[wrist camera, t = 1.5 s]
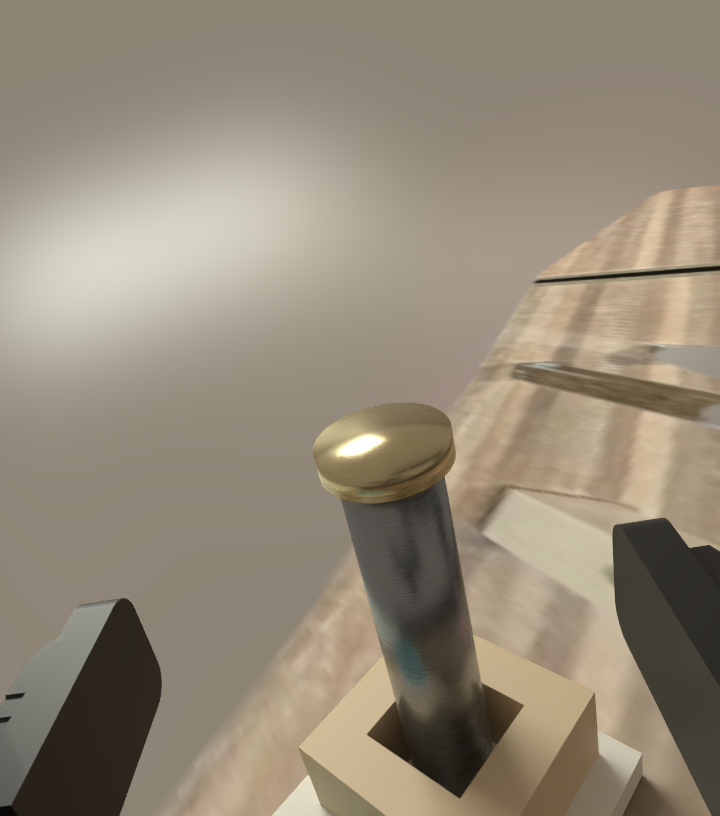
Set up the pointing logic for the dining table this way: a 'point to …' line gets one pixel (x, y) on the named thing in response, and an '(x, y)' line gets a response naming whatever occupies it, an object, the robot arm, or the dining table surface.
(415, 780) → the dock
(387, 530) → the pin
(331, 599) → the dining table surface
